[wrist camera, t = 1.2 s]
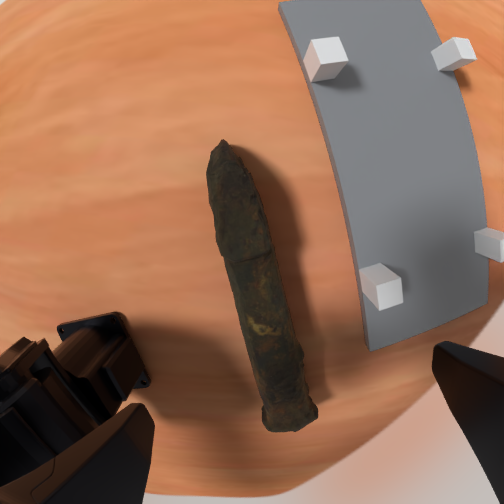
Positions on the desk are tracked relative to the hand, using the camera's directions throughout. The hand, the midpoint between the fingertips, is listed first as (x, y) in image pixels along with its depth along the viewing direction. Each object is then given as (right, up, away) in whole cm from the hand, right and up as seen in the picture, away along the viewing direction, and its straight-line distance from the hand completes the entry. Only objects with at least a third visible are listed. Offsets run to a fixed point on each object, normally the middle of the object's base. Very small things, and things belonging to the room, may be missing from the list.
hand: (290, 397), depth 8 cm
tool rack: (+9, +10, +9) cm, 16 cm away
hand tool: (-1, +1, +12) cm, 12 cm away
